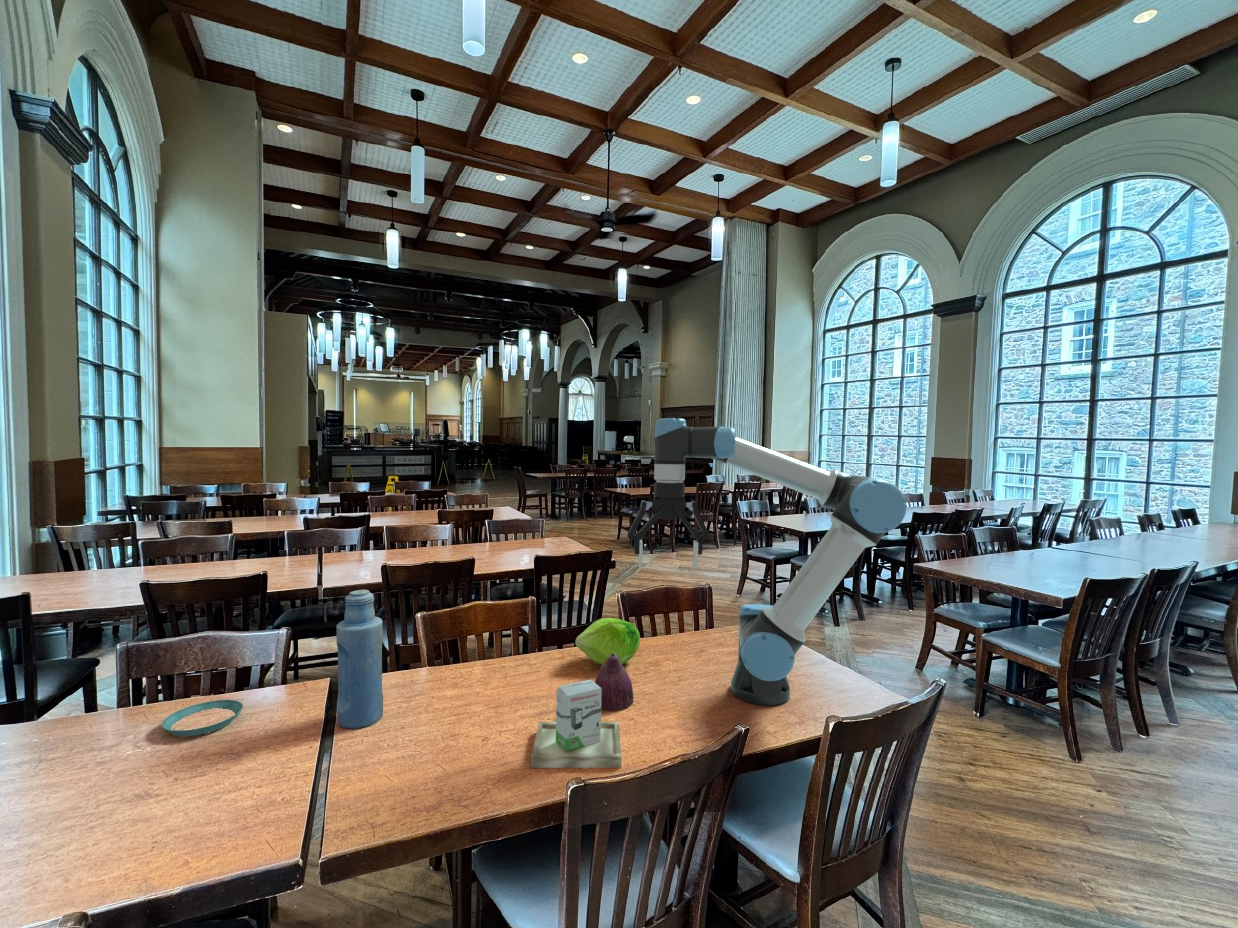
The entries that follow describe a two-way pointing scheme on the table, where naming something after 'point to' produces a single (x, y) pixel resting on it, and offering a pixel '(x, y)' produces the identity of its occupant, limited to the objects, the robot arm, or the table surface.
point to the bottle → (359, 663)
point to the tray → (584, 757)
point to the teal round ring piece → (187, 711)
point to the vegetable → (614, 685)
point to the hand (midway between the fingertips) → (667, 567)
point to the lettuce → (609, 640)
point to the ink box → (578, 715)
